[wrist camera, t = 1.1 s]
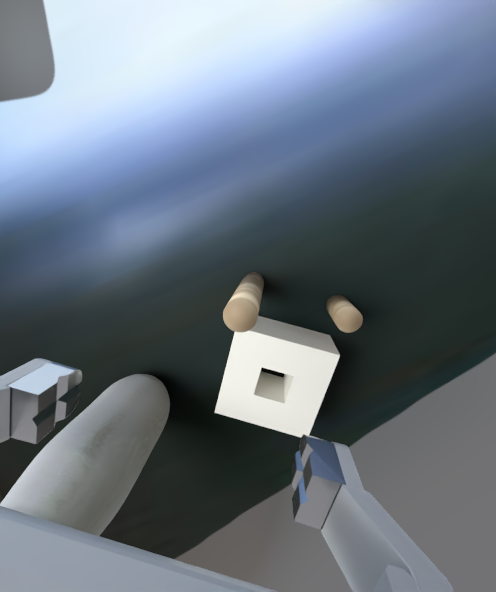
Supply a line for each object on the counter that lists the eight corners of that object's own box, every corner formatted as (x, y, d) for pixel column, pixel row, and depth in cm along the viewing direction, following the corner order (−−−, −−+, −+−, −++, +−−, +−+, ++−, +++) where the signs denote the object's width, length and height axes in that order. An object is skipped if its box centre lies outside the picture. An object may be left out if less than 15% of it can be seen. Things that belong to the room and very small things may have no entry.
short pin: (330, 292, 35) (340, 305, 29) (351, 298, 35) (366, 312, 29) (323, 312, 36) (332, 328, 30) (343, 318, 36) (357, 335, 30)
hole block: (242, 311, 37) (236, 326, 31) (329, 335, 36) (340, 355, 31) (223, 386, 40) (214, 412, 35) (302, 408, 40) (307, 439, 34)
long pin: (245, 269, 35) (227, 295, 22) (266, 275, 35) (261, 305, 22) (240, 290, 36) (219, 327, 23) (260, 295, 36) (252, 336, 22)
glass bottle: (176, 421, 43) (13, 741, 16) (119, 407, 44) (-133, 695, 17) (184, 371, 40) (2, 656, 14) (122, 356, 41) (-171, 604, 14)
